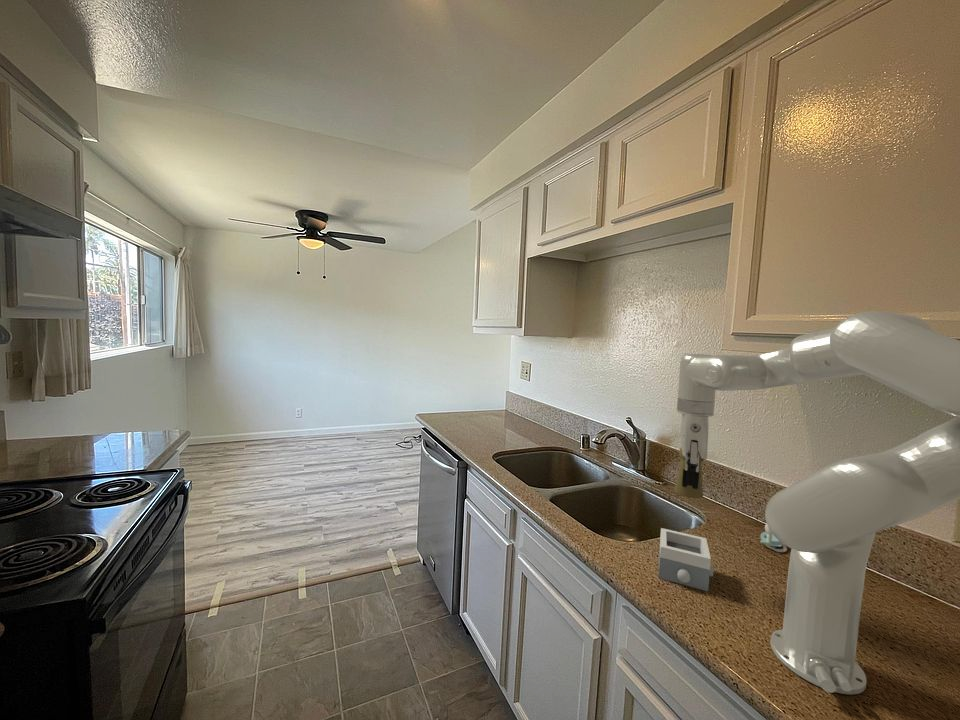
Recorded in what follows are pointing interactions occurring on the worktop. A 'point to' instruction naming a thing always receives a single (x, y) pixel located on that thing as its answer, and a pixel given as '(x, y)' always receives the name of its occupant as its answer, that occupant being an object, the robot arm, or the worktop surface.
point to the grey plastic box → (684, 559)
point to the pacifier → (771, 541)
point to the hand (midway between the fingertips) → (689, 483)
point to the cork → (689, 489)
